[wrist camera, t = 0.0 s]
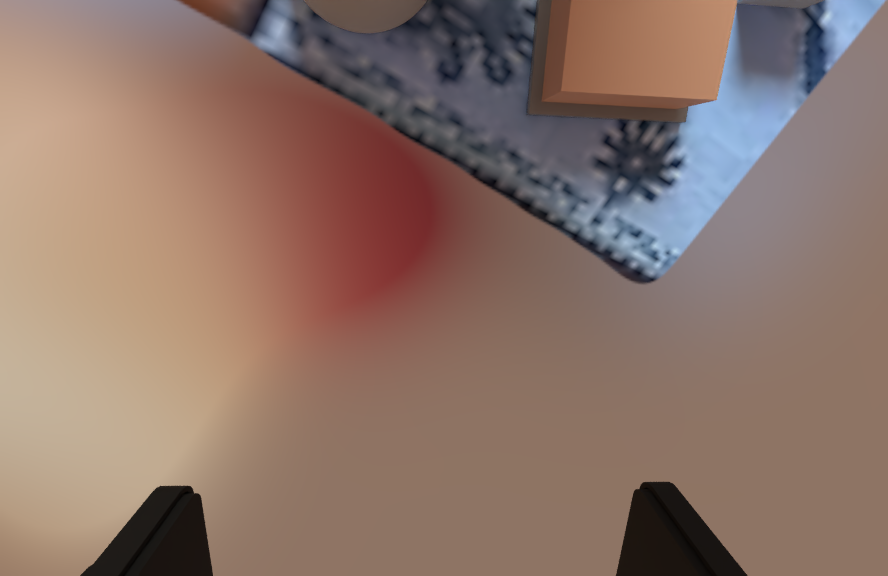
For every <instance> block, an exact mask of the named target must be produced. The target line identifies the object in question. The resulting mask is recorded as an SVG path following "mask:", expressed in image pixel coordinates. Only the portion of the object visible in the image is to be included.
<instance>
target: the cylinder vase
mask: <svg viewBox="0 0 888 576" xmlns="http://www.w3.org/2000/svg"><path fill="white" fill-rule="evenodd" d="M303 1H304V2H305V3H306V4H307V5H308V6H309V7H310V8H311V9H312V10H313V11H314V12H315V13H316V14H318V15H319V16H320V17H321V18H323V19H324V20H326V21H327V22H329V23H331V24H333V25H335V26H337V27H339V28H342V29H344V30H348V31H351V32H357V33H379V32H384V31H387V30H390V29H393V28H396V27H398V26H400V25H401V24H403V23H405V22H406V21H408V20H409V19H410V18H412V17H413V16H414V15H415V14H416V13H417V12H418V11H419V10H420V9H421V8H422V7H423V6H424V4H425V3H426V2H427V0H303Z"/></svg>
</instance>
